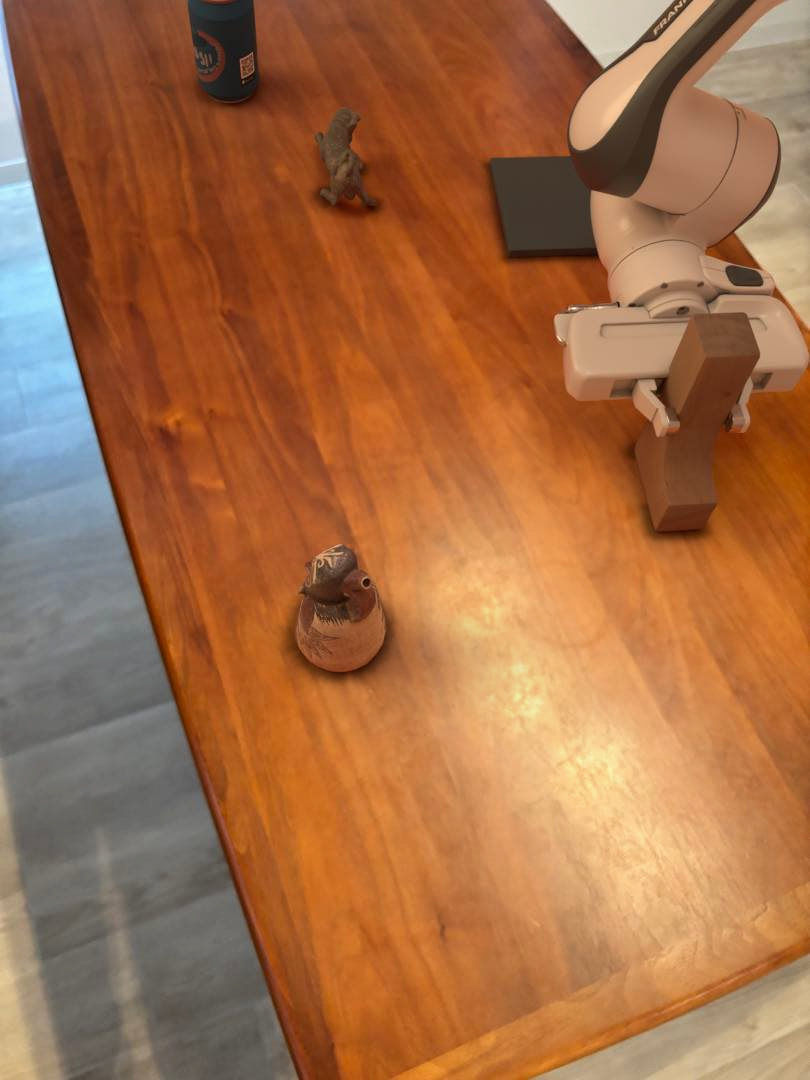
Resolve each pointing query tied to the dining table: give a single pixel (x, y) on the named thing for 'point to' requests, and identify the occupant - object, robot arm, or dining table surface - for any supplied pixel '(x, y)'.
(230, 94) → the soda can
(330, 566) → the figurine
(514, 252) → the mat
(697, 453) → the wooden block
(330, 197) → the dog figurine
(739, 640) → the dining table surface
